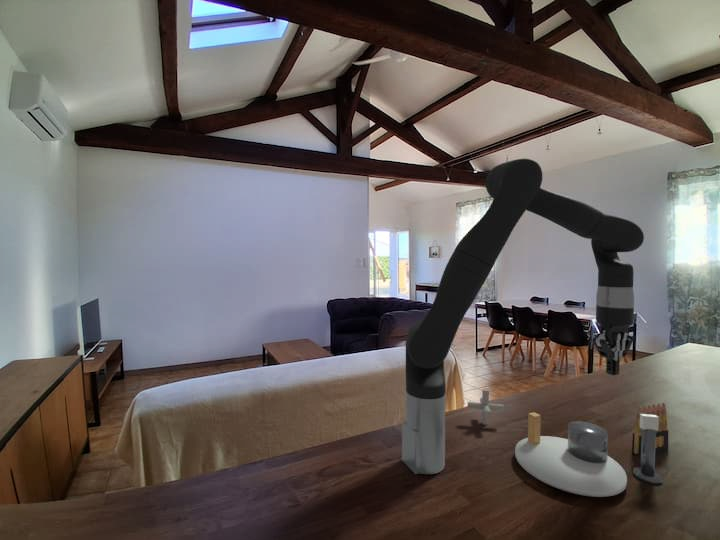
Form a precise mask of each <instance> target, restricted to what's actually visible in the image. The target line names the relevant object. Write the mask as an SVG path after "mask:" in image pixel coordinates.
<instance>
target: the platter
mask: <svg viewBox="0 0 720 540" xmlns="http://www.w3.org/2000/svg"><path fill="white" fill-rule="evenodd" d="M541 417H542V416H541V414H539V413H536V412H535V411H534V412H533V411H532V412H529V413H528V417H527V421H528V422H527V437H526V438H523V439H521V440H519V441H518V442H517V443H516V445H515V448H514V449H515V451H514V453H515V455H514V456H515V458H516V461H517V463H518V464H519V465H520V466H521V468H522V469H524V471H526V472H527V473H529V474H530V475H531V476H533V477H534V478H536V479H537V480H539V481H541V482H542V483H545V484H547V485H549V486H551V487H553V488H556V489H558V490H561V491H565V492H567V493H571V494H575V495H580V496H586V497H594V498H595V497H596V498H603V497H604V498H605V497H611V496H616V495H619V494H621V493H622V492H624V490H625V489H626V488H627V484H628V476H627V473H626V471H625V469H624V468H623V467H622V466H621V464H619V463H618V462H617V461H616V460H614V459H613V458H612V457H611V456H609V455H608V459H607V461H606V462H605V463H591V462H587V461H583V460H581V459H578V458H576V457H575V456H573V455H572V454H570V453H569V451H568V438H562V437H558V436H550V435H541V419H542V418H541Z"/></svg>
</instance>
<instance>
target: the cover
mask: <svg viewBox="0 0 720 540" xmlns="http://www.w3.org/2000/svg"><path fill="white" fill-rule="evenodd" d="M567 439H568V451H569V453H570V454H572V455H573V456H575V457H576V458H578V459H581V460H583V461H587V462H591V463H605V462H606V461H607V459H608V456H609V453H608V451H609V432H608V431H607V429H605V428H603V427H601V426H600V425H597V424H594V423H590V422H587V421H581V420H575V421H570V422H568V425H567Z"/></svg>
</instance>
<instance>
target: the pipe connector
mask: <svg viewBox="0 0 720 540" xmlns="http://www.w3.org/2000/svg"><path fill="white" fill-rule="evenodd" d="M467 409H475V410H481V424H482V425H484V426H487V425H489V418H491V417H492V412H491V411H498V412H504V411H505V406H504V404H500V403H498V404H497V403H490V390H489V389H487V388H483V389H482V397H480V398H479V402H476V401H467Z"/></svg>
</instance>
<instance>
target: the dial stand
mask: <svg viewBox="0 0 720 540" xmlns="http://www.w3.org/2000/svg"><path fill="white" fill-rule="evenodd" d="M658 425H659V417H657V416H656V415H649V414H640V428H642V441H641V456H640V466H635V467H633V469H632V473H633V476H634V477H635V478H637V479H638V480H640V481H643V482H645V483H648V484H650V485H651V484H652V485H662V483H663V477H662V475H661V474H660V473H659V472H656V471H655V469H656V467H655V466H656V463H655V462H656V453H655V443H656V431H658Z"/></svg>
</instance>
